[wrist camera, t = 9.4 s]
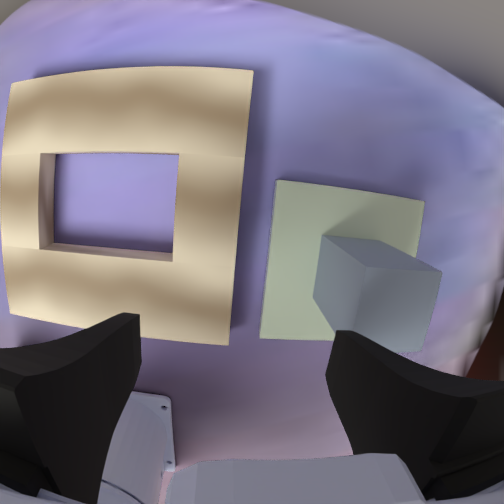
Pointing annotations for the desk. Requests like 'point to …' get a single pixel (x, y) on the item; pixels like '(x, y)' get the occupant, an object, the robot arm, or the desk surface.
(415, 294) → the slate block
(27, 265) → the pocket board
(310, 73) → the desk surface
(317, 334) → the tile
